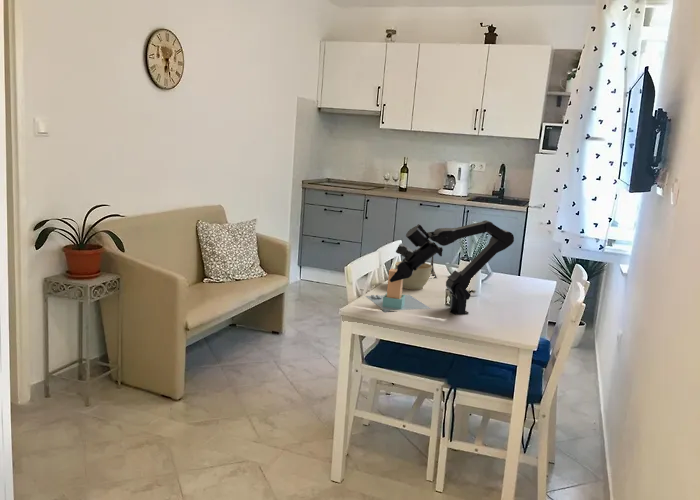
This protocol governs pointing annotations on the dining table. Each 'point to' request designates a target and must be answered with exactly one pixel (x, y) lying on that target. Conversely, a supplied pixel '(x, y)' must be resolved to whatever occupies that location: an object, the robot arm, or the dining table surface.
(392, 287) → the terracotta brick
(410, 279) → the planter bowl
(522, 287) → the dining table surface
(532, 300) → the dining table surface
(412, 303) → the baseplate
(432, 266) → the eiffel tower figurine
